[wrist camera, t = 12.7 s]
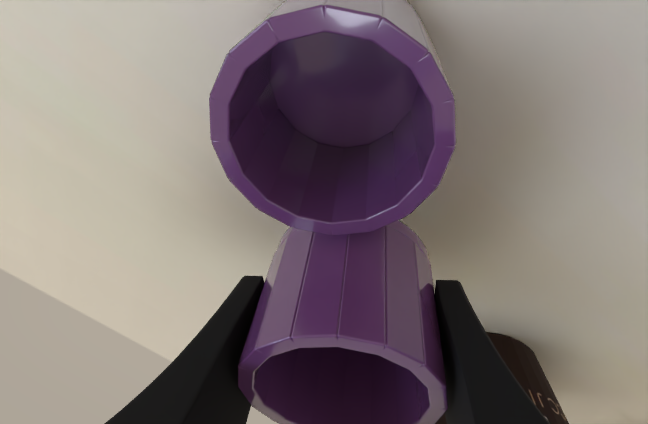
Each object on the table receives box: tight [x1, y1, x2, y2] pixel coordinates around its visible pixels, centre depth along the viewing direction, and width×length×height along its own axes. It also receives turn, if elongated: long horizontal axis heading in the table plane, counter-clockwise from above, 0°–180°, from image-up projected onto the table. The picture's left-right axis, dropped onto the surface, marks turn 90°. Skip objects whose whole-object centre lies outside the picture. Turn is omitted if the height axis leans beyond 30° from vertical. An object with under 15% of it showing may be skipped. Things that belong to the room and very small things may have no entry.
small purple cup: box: [209, 0, 456, 236], centre depth 10 cm, size 5×5×5 cm
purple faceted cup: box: [237, 220, 448, 424], centre depth 11 cm, size 5×5×5 cm
